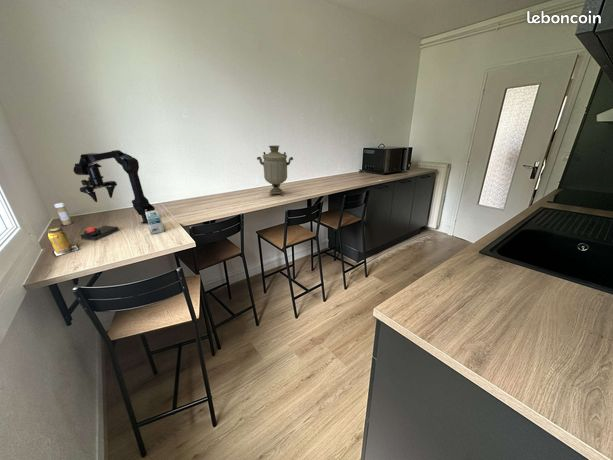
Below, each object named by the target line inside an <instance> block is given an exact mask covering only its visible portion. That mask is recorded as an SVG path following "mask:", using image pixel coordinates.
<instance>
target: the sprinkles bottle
mask: <svg viewBox="0 0 613 460" xmlns="http://www.w3.org/2000/svg"><path fill="white" fill-rule="evenodd" d="M53 206H54V208H55V210H56V212H57V215H58V217H59V220H60V222H61V223H62V225H63V226H69V225H71V224H73V222H72V220H71V216H70V215H69V213H68V210H67V207H66V205H65V203H64V202H57V203H54V204H53Z"/></svg>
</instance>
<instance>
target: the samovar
mask: <svg viewBox="0 0 613 460" xmlns="http://www.w3.org/2000/svg"><path fill="white" fill-rule="evenodd" d="M268 147H269V150H270V152H268V153H266V151H263V152H262V154H263V155H262V156H257V157H256V160H258V161H259V164H260V165H261V166H263V177H264V180H265V182H267V183H269V184H271V187H272V188H271V189H270V191H269V193H270V194H269V197H273V195H280V196H284V194H283V192H284V191H283V189H281V188H280V187H281V185H282V184H283V183H285V182H286V181H287V179H288V166H290V164H291V162H292V161H293V160H294V157H293V156H291V157H289V158H288V161H287V157H288V155H287V152H286V151H284V152H283V153H281V152H280V151H279V149H280V145H277V144H276V145H275V144H274V145H268Z"/></svg>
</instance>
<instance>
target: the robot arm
mask: <svg viewBox="0 0 613 460" xmlns="http://www.w3.org/2000/svg"><path fill="white" fill-rule="evenodd" d="M109 159H114V160H115V162H116V163H117V164H119V165H120V166H121V167H122V169H123V171H124V172H125V173H126V174H127V176H128V179H129V183H130V186H131V189H132V193H133V196H134V199H133V200H131V203H132V207H133V208H134V210H135V211H136V213H137V214H138V215H139V216H140V217H141V219H142V221H141V224H147V225H149V223H148V220H147V217H146V213H145V212H147V211H154V210H156V208H155V206H153V204H151V203H150V201H149V199H148V198H147V197H146V196H145V195H144V190H143V187H142V183H141V179H140V176H139V169H140V164H139V160H138V159H137V158H136V157H133V155H130V154H128V153H125V152H123V151H122V150H119V149H115V150H111V151H106V152H100V153H98V152H89V153H82V154H80V158H79V161H78V163H74V166H73V173H74V174H75V175H77V176H88V179H82V180H80V182H81V185H82V186H80V187H79V192H80V193H83V194H87V195H88V196H89V197H90V198H91V199H92V200H93V201H94V202H95V203H98V198H97V193H96V191H95V190H96V189H101V188H105V189H106V191H107V194H108V196H109V198H110V199H112V198H113V194H114V191H115V189H116V187H117V186H118V183H117V182H116V180H108V181H107V180H106V181H104V176H103V175H102V173H101V170H100V168H102V165H100V164H99V162H101V161H103V160H109Z"/></svg>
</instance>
